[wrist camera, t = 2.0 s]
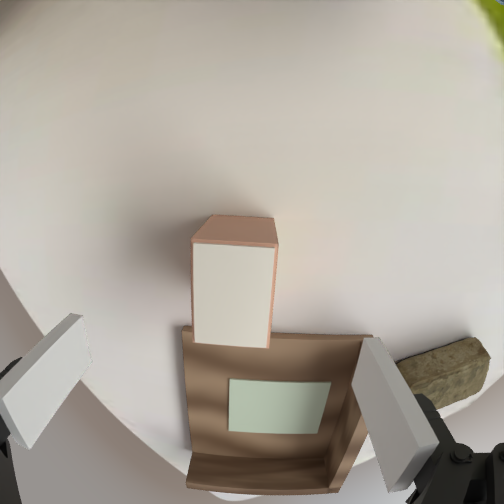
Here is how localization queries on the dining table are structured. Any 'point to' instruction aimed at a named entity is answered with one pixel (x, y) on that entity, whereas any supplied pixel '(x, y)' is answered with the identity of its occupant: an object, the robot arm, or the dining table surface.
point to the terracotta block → (233, 281)
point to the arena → (270, 444)
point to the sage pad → (276, 406)
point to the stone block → (447, 372)
